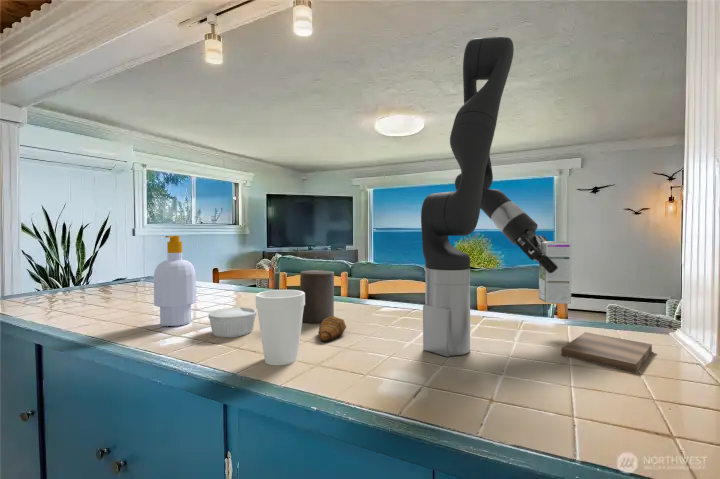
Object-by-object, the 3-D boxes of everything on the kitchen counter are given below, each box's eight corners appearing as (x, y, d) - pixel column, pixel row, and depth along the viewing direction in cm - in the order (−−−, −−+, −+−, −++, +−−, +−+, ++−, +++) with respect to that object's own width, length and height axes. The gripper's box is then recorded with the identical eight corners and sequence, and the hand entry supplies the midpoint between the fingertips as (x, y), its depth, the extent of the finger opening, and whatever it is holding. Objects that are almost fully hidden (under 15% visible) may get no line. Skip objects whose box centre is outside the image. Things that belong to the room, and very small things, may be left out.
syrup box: (572, 304, 82) (573, 241, 82) (544, 302, 83) (545, 241, 83) (562, 299, 88) (564, 241, 87) (537, 298, 89) (538, 241, 89)
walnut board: (636, 372, 62) (636, 364, 62) (561, 355, 71) (561, 347, 71) (651, 351, 73) (651, 344, 73) (585, 338, 82) (585, 332, 82)
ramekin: (265, 330, 90) (265, 310, 90) (228, 342, 81) (228, 319, 81) (237, 324, 96) (236, 305, 96) (199, 334, 87) (199, 313, 87)
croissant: (338, 345, 79) (338, 323, 79) (309, 343, 80) (309, 321, 80) (352, 329, 92) (352, 310, 92) (327, 327, 94) (327, 309, 93)
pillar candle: (304, 325, 95) (305, 269, 95) (296, 317, 104) (296, 266, 103) (338, 321, 99) (339, 268, 98) (327, 314, 108) (328, 265, 107)
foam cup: (313, 354, 72) (313, 291, 72) (290, 371, 64) (289, 299, 63) (273, 349, 75) (272, 288, 75) (246, 364, 67) (245, 296, 66)
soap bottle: (145, 328, 93) (143, 236, 92) (172, 318, 103) (170, 235, 102) (180, 329, 91) (179, 236, 91) (204, 319, 101) (203, 235, 101)
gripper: (511, 210, 86) (563, 260, 77) (534, 213, 95) (582, 258, 87) (490, 232, 90) (537, 282, 81) (514, 233, 99) (558, 277, 91)
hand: (560, 269), depth 84 cm, fingers closed on syrup box, 8 cm apart
